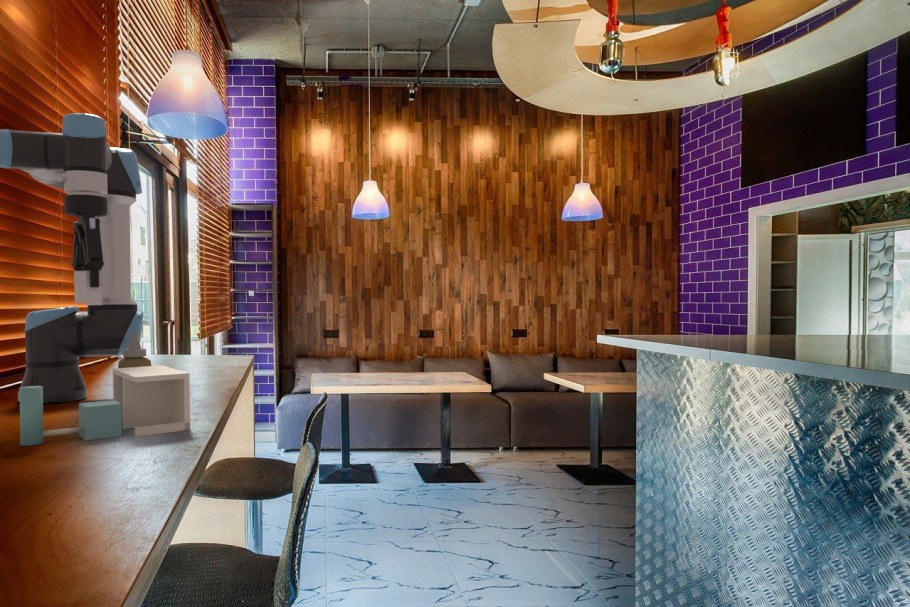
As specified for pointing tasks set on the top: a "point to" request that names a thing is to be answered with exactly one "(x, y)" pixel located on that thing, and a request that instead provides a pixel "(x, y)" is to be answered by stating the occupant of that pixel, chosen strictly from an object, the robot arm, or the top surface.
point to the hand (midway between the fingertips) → (87, 304)
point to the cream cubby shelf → (153, 399)
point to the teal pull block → (93, 424)
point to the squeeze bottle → (134, 354)
